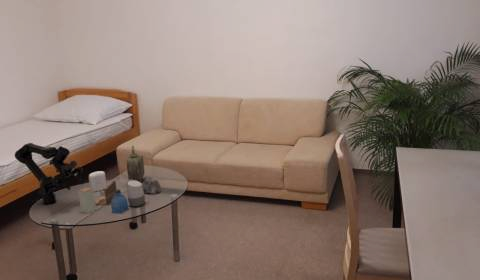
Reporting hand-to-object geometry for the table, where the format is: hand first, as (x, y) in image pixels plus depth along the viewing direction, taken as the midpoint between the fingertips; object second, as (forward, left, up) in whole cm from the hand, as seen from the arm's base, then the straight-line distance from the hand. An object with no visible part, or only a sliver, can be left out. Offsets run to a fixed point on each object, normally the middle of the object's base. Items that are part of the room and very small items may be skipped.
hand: (76, 186), depth 243 cm
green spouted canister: (+31, +35, -13) cm, 49 cm away
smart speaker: (+33, -6, -13) cm, 36 cm away
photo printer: (+7, +28, -13) cm, 32 cm away
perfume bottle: (+24, -12, -13) cm, 30 cm away
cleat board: (+13, +7, -13) cm, 20 cm away
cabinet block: (+6, -6, -13) cm, 15 cm away
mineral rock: (+40, +13, -13) cm, 44 cm away
